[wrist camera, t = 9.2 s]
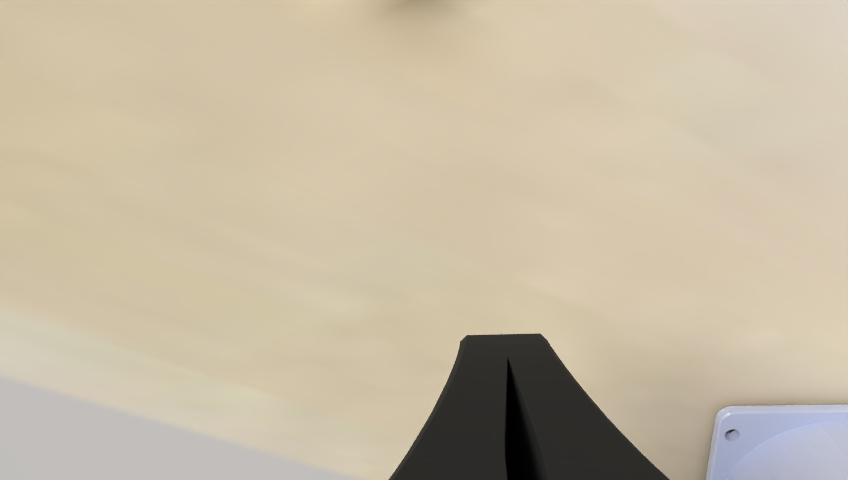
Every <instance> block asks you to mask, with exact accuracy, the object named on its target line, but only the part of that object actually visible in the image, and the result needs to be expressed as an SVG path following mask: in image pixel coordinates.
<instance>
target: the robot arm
mask: <svg viewBox="0 0 848 480" xmlns="http://www.w3.org/2000/svg"><path fill="white" fill-rule="evenodd" d="M732 429H734V431H732V432H731V433H726V432H727V431H729V430H732ZM389 480H669V479H668V478H667V477H666V476H665V475H664V474H663V473H662V472H661V471H660V470H658V469H657V468H656V467H655V466H654V465H653V464H652V463H651V462H650V461H649V460H648V459H647V458H646V457H645V456H644V455H643V454H642V453H641V452H640V451H639V450H638V449H637V448H636V447H635V446H634V445H633V444H632V443H631V442H630V441H629V440H628V439H627V438H626V437H625V436H624V435H623V434H622V433H621V432H620V431H619V430H618V429H617V428H616V426H615V425H614V424H613V423H612V422H611V421H610V420H609V419H608V418H607V417H606V416H605V414H604V413H603V412H602V411H601V410H600V409H599V407H598V406H597V405H596V404H595V403H594V402H593V400H592V399H591V398H590V397H589V396H588V395H587V393H586V392H585V391H584V390H583V389H582V387H581V386H580V385H579V384H578V382H577V381H576V380H575V379H574V377H573V376H572V375H571V373H570V372H569V371H568V370H567V368H566V367H565V366H564V364H563V363H562V361H561V360H560V359H559V357H558V356H557V355H556V353H555V352H554V350H553V349H552V347H551V346H550V344H549V343H548V341H547V340H546V339H545V338H544V337H543V336H542V335H541V334H505V335H467V336H466V337H465V338H464V339H463V340H461V341H460V347H459V351H458V355H457V358H456V361H455V364H454V366H453V369H452V371H451V373H450V376H449V378H448V381H447V383H446V385H445V387H444V389H443V391H442V393H441V395H440V397H439V399H438V401H437V403H436V405H435V407H434V409H433V411H432V413H431V415H430V416H429V418H428V420H427V422H426V423H425V425H424V427H423V428H422V430H421V431H420V433H419V435H418V436H417V438H416V440H415V441H414V443H413V445H412V446H411V448H410V450H409V451H408V453H407V454H406V456H405V457H404V459H403V460H402V462H401V463H400V465H399V466H398V468H397V469H396V470H395V472H394V473H393V475H392V476H391V477H390V479H389ZM706 480H848V404H837V405H767V406H729V407H725V408H723V409H721V410H720V411H719V412H718V413H717V415H716V418H715V424H714V430H713V436H712V443H711V449H710V455H709V461H708V467H707V473H706Z"/></svg>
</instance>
